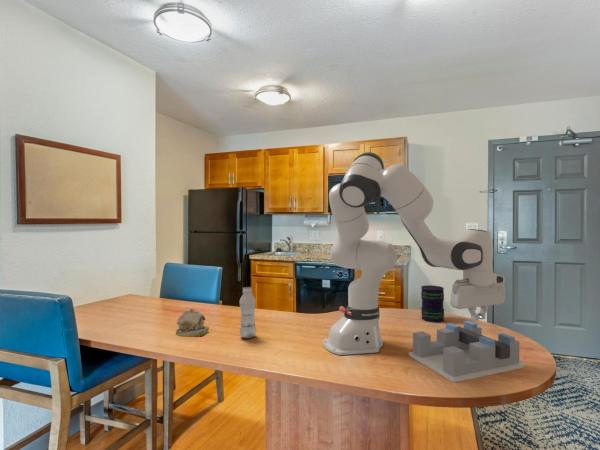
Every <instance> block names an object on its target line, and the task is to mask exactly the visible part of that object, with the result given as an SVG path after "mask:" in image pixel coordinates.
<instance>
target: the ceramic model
mask: <svg viewBox="0 0 600 450" xmlns="http://www.w3.org/2000/svg"><path fill="white" fill-rule="evenodd" d="M205 321H206V317H205V315H204V314H203V313H201V312H200V311H198V310H195V309H194V308H190V309H189V310H184V311H183V312H182V314H181V315H179V317H178V318H177V321H176V325H178V328H177V329H176V330H175V334H176V335H177V336H178V337H188V338H189V337H190V338H191V337H202V336H204V335H206V334H208V333H209V326H204V324H205Z"/></svg>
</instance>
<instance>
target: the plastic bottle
mask: <svg viewBox="0 0 600 450" xmlns="http://www.w3.org/2000/svg"><path fill="white" fill-rule="evenodd" d="M239 308H240V316H241V317H240V327H239V333H240V337H241V338H243V339H251V338H255V336H256V334H257V328H256V320H255V309H256V298H255V297H254V295H253V288H252V287H251V286H245V287H244V286H243V287H242V295H241V297H240V298H239Z"/></svg>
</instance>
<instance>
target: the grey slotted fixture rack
mask: <svg viewBox="0 0 600 450" xmlns="http://www.w3.org/2000/svg"><path fill="white" fill-rule="evenodd" d="M463 328H465V329H467V330H470V331H473V332H475V333H478V334H480V335H482V334H483V333H482V327H481V326H479V325H478V323H475V322H473V321H470V320H463ZM497 336H498V338H497V339H498V340H497V341H499V342H501V343H504V344H506V345H509V346H510V358H506V359H499V358H497V357H495V340H496V339H493V338H491V339H490V337H488V338H487V336H486V337H485V335H483V336H482V337H479V342H475V343H469V345H467V344H465V343H463V342H461V341H459V325H456V324H453V323H452V322H450V323H445V328H436V340H434V341H432V339H431V338H432V337H431V334H429V333H427V332H424V331H422V330H421V331H416V332H412V350H413V351H410V352H408V356H409V357H411V358H412V359H414V360H416V361H417V362H419V363H421V364H422V365H423V366H425V367H426V368H429V369H430V370H432V371H433V372H435V373H437V374H438V375H440V376H442V377H443V378H445V379H447V380H448V381H450V382H451V383H454V384H455V383H459V382H463V381H467V380H473V379H477V378H481V377H486V376H492V375H497V374H500V373H506V372H511V371H515V370H519V369H523V368H525V367H526V363H523V362H520V341H519V340H516V339H515V336H512V335H508V334H507V333H504V332H502V333H501V332H500V333H498V335H497ZM492 339H493V340H492Z"/></svg>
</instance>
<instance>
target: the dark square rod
mask: <svg viewBox="0 0 600 450" xmlns="http://www.w3.org/2000/svg"><path fill="white" fill-rule="evenodd" d="M458 326H459V325H458ZM482 336H485V335H480V334H478V333H475V332H473V331H470V330H467V329H465V328H464V327H462V326H459V341H461V342H463V343H465V344H467V345H469V343H475V342H479V337H482ZM485 337H487V336H485ZM487 338H490V337H487ZM490 339H492V340H495V357H497V358H499V359H506V358H510V346H509V345H506V344H504V343H501V342H499V341H498V340H496V339H493V338H490Z"/></svg>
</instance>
